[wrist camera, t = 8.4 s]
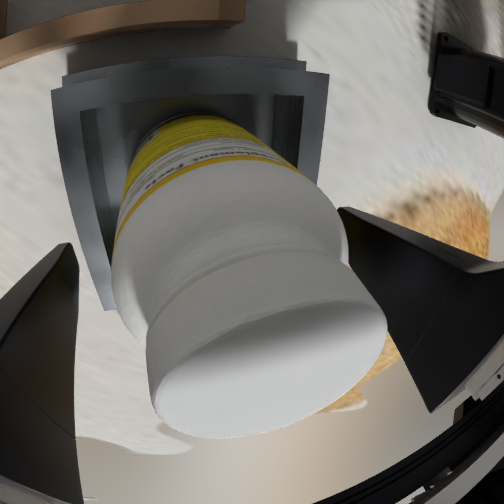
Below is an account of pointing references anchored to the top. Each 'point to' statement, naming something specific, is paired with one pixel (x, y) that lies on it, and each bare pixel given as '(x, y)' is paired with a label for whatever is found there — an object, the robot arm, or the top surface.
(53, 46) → the walnut collar
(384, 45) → the top surface
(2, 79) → the top surface
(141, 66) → the dark metal seat block
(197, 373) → the pill bottle
